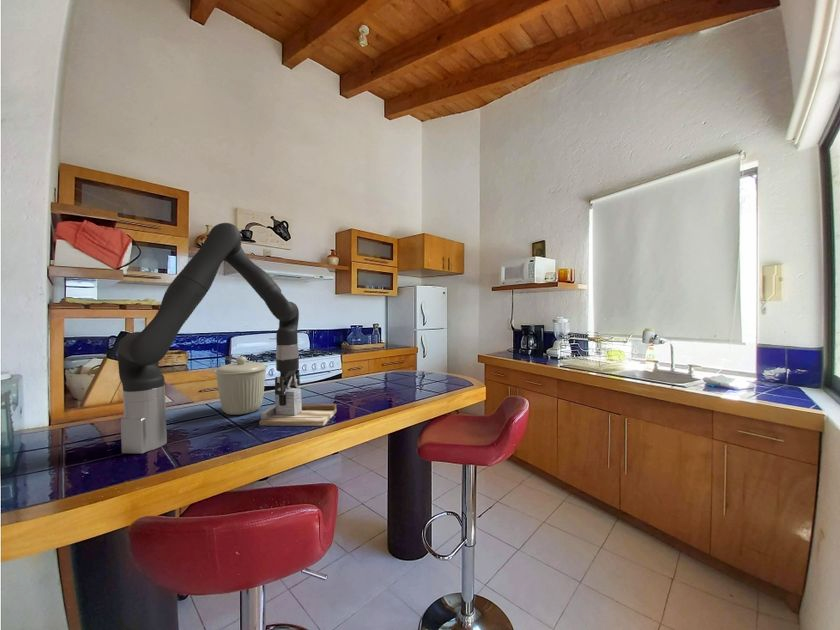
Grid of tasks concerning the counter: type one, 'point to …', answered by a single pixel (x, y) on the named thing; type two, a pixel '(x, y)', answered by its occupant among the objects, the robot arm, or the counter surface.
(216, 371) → the canister
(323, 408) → the walnut fence
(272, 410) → the end stop
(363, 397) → the counter surface
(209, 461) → the counter surface
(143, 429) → the robot arm
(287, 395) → the medicine box
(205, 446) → the counter surface
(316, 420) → the maple board
